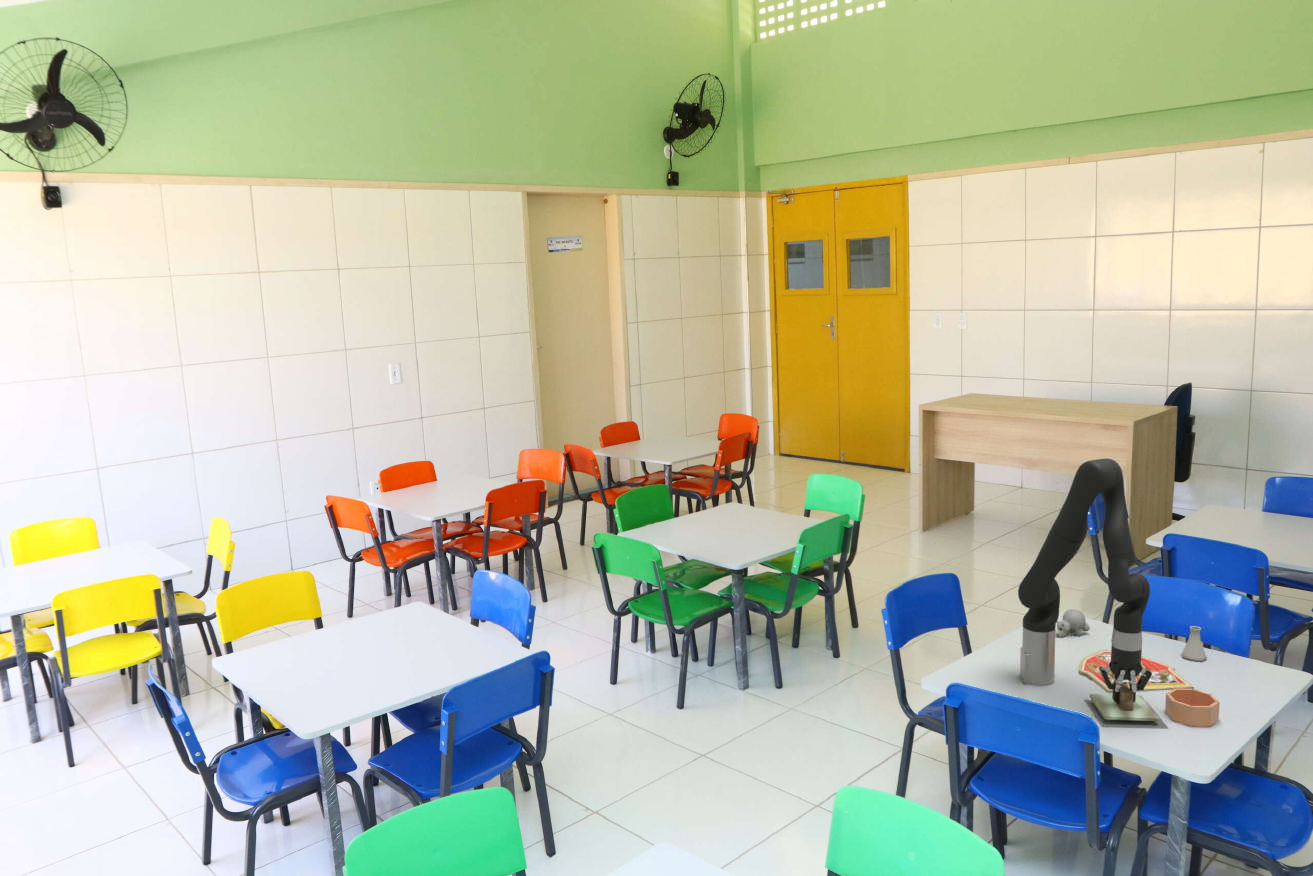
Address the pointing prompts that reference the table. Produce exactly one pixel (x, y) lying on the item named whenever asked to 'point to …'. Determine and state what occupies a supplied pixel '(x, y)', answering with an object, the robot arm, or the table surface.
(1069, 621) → the round bodied animal figurine
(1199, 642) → the flask
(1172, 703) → the bowl
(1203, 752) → the table surface
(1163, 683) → the knob puzzle
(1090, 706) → the mat
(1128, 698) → the lid
